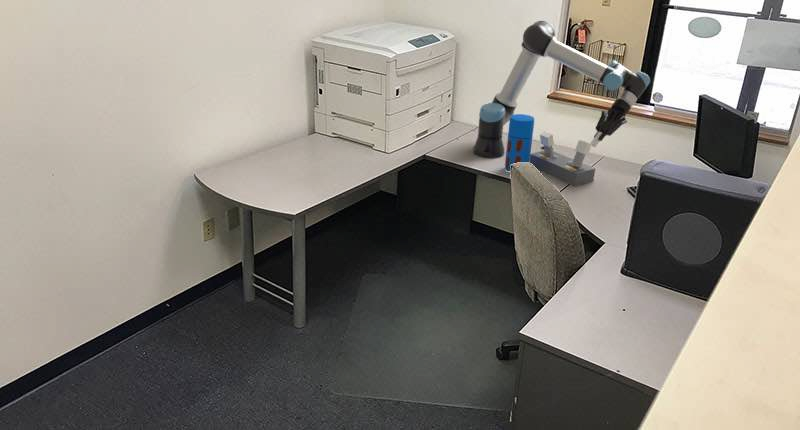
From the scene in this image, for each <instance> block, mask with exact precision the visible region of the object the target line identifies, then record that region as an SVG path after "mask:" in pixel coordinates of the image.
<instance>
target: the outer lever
mask: <svg viewBox="0 0 800 430" xmlns="http://www.w3.org/2000/svg"><path fill="white" fill-rule="evenodd" d="M591 148H592V144H591V142H589V141H585V140H581V139H578V142H577V144H576V146H575V148H574V151H575V155H574V157H573V159H574V160H573V162H572V164H574V165H576V166H579V167H580V166H581V165H582V163H583V162H584V160H585V157H586V155H587V156H588V155H589V152H590V150H591Z"/></svg>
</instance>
